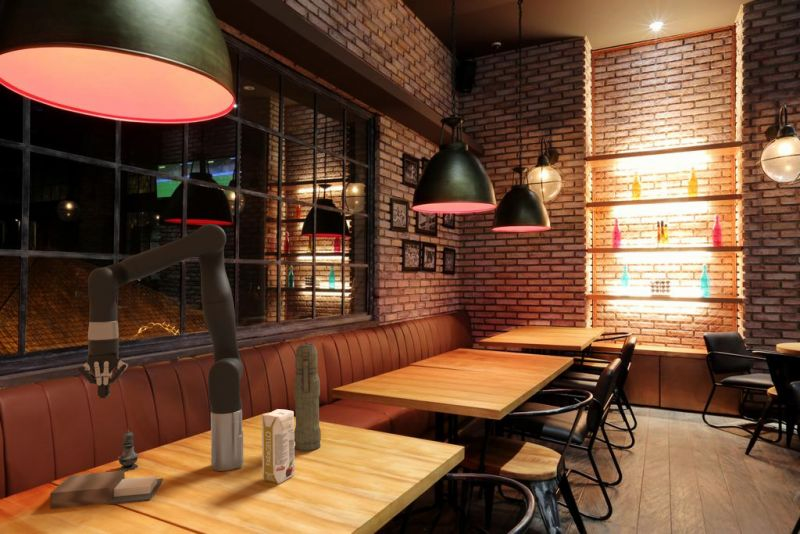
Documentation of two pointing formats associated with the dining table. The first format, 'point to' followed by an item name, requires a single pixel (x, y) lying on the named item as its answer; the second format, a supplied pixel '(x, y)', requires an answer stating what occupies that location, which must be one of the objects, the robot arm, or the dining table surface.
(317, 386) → the thermos
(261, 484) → the dining table surface
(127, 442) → the salt shaker
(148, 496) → the mat
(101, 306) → the robot arm
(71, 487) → the block
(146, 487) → the tile
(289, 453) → the juice carton
